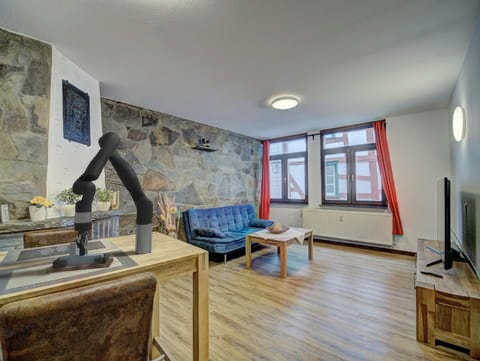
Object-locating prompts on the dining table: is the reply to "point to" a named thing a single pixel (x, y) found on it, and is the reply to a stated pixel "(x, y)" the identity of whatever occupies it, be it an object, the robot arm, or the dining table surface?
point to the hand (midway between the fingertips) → (82, 255)
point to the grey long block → (81, 259)
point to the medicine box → (76, 249)
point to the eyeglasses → (50, 250)
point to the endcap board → (98, 263)
